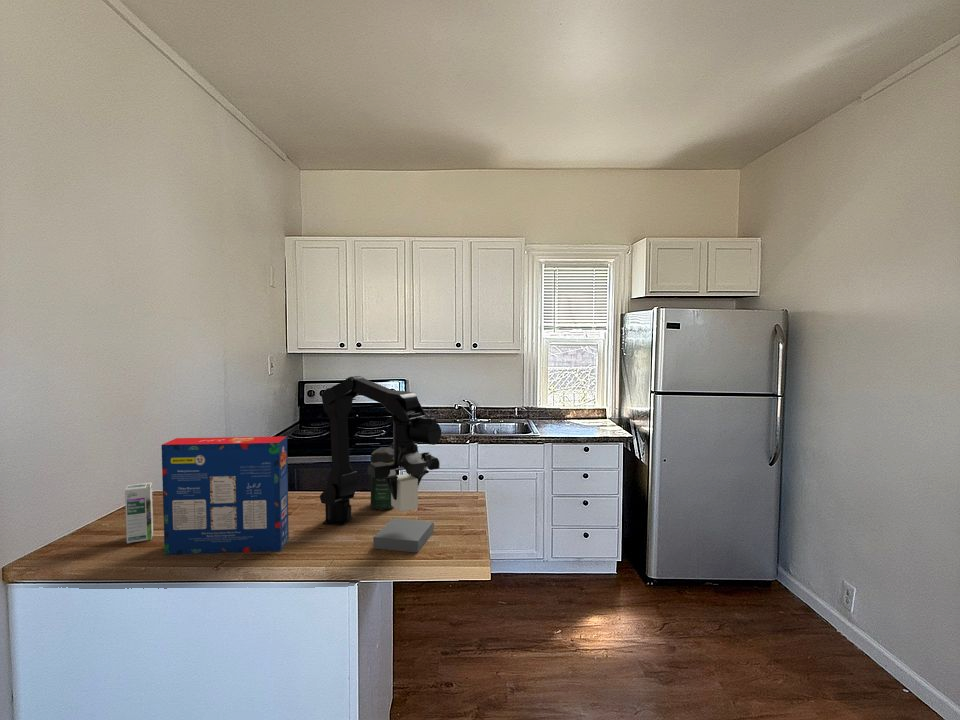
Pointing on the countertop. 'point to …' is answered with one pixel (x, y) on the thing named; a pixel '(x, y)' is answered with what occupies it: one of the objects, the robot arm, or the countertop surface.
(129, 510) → the syrup box
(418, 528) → the podium
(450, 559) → the countertop surface
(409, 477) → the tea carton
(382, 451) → the coffee jar
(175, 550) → the blue cardboard box
